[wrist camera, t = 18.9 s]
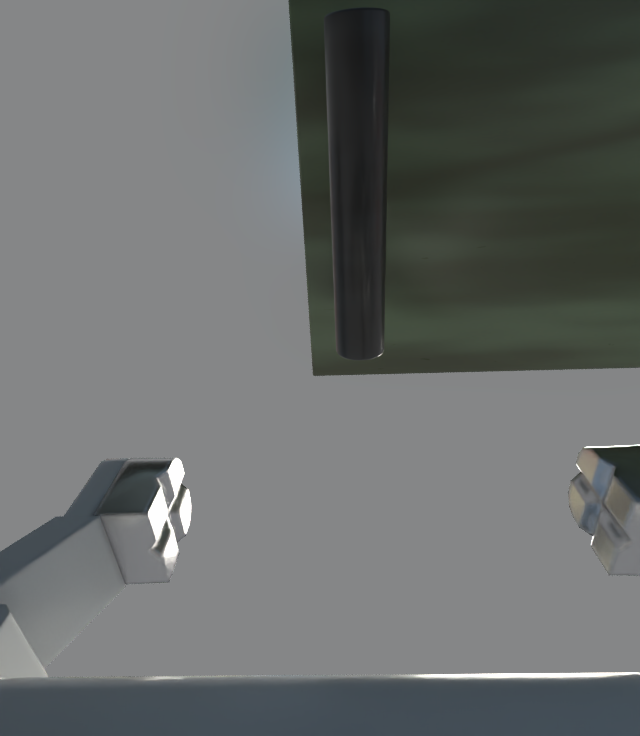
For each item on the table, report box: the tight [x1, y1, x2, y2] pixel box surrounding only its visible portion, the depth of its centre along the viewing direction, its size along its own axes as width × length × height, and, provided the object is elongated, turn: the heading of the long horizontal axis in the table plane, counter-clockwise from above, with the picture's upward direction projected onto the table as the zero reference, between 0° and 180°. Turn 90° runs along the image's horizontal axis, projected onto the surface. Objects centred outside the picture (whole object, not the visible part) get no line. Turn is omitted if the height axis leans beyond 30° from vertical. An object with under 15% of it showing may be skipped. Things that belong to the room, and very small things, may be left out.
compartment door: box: [289, 0, 640, 376], centre depth 14 cm, size 6×18×18 cm, turn 92°
